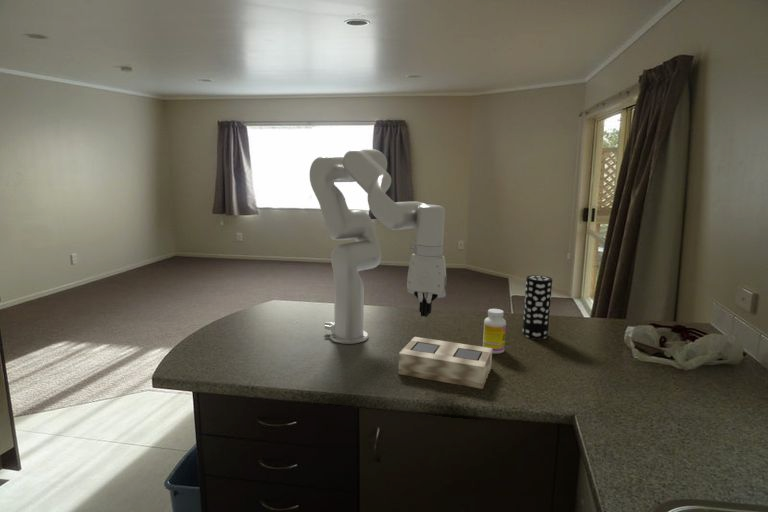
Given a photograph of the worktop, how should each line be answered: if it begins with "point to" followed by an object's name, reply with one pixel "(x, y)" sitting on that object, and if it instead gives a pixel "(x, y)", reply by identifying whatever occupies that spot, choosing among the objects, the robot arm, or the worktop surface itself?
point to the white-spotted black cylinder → (537, 306)
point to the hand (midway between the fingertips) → (425, 315)
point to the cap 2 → (468, 354)
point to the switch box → (445, 363)
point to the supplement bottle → (494, 331)
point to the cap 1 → (426, 348)
